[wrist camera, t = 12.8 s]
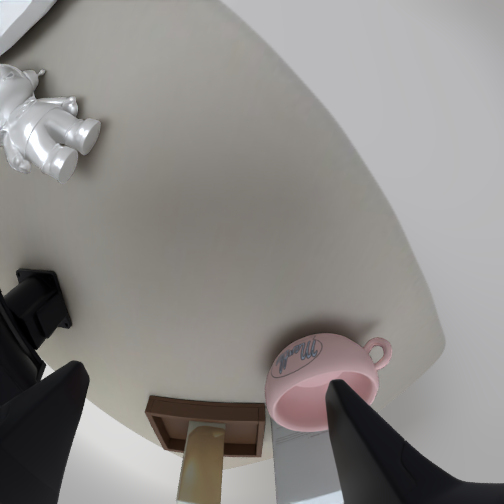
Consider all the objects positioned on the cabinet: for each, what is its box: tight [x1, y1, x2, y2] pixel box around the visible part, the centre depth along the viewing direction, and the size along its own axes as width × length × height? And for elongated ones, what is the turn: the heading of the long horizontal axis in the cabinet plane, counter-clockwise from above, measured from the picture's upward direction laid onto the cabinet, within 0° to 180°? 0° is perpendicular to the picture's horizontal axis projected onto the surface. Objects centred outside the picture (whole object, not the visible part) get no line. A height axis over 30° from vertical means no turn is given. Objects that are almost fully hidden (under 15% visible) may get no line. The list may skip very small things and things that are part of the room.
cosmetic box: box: [176, 421, 226, 504], centre depth 23 cm, size 6×4×12 cm
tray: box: [145, 396, 265, 457], centre depth 28 cm, size 13×10×3 cm
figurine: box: [0, 64, 101, 184], centre depth 13 cm, size 11×7×15 cm
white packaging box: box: [271, 417, 344, 504], centre depth 23 cm, size 7×7×13 cm
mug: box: [265, 333, 392, 432], centre depth 22 cm, size 12×10×6 cm
